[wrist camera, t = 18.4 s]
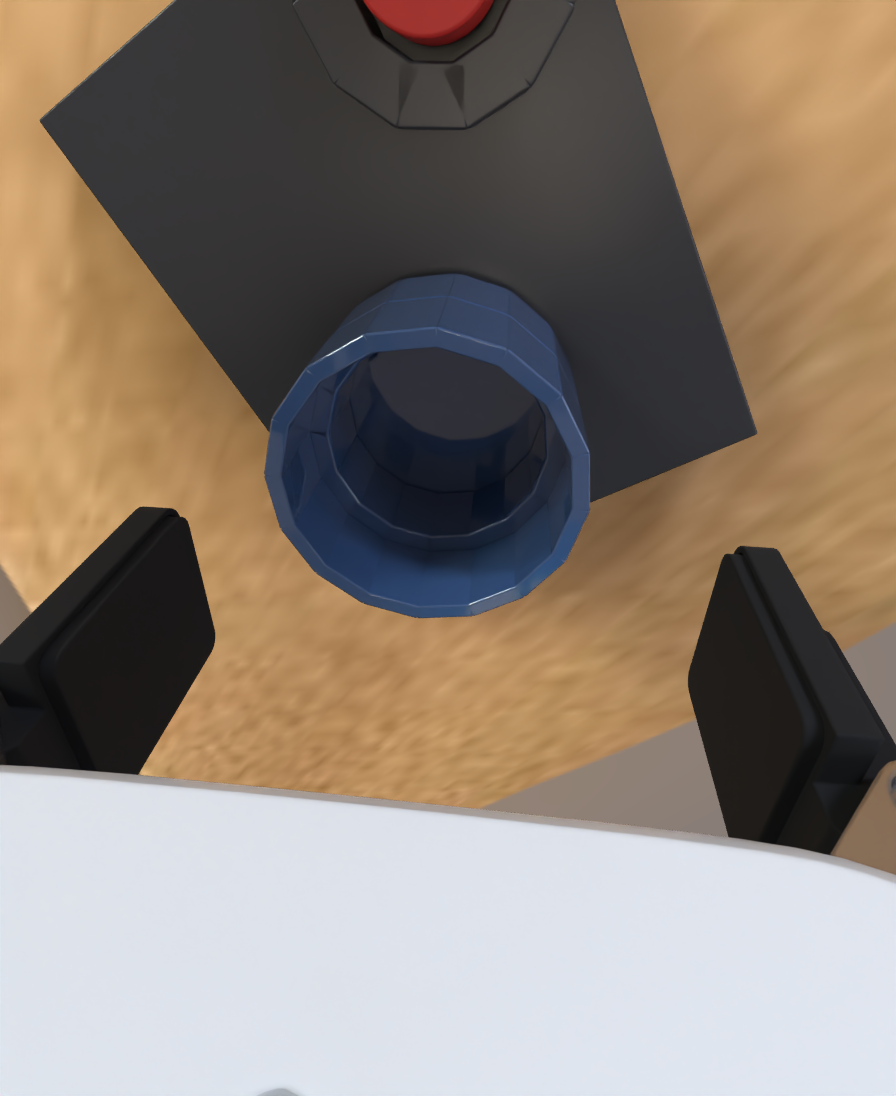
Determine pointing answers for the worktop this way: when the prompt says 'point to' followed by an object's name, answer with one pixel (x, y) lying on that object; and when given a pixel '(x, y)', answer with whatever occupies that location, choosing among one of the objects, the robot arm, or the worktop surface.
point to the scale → (413, 198)
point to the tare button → (430, 18)
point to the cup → (433, 451)
